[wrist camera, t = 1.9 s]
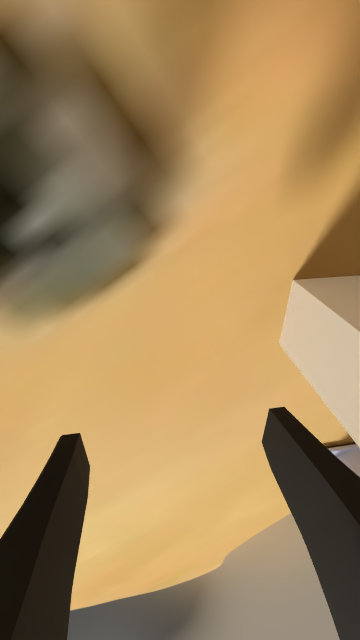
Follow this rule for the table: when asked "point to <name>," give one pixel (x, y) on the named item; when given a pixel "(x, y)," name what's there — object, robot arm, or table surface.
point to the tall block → (327, 342)
